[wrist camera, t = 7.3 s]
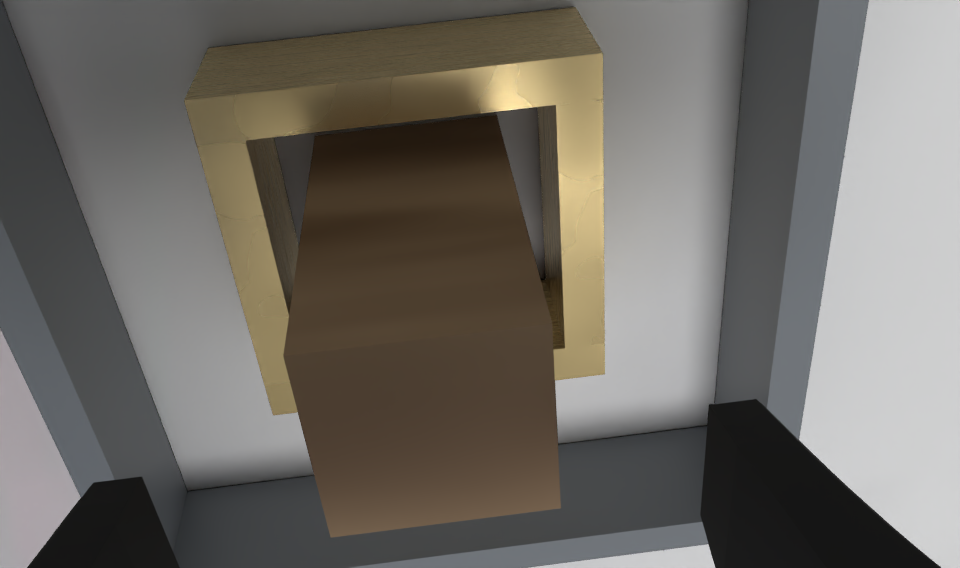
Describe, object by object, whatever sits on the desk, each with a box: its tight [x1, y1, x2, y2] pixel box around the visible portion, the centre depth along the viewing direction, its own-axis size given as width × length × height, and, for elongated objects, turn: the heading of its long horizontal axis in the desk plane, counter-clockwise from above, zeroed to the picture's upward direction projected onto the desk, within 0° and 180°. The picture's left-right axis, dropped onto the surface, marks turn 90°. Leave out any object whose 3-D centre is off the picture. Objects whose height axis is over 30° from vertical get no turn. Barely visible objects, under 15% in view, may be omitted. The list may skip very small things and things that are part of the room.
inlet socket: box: [184, 7, 605, 415], centre depth 18 cm, size 7×7×2 cm
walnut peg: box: [283, 115, 561, 538], centre depth 16 cm, size 4×4×7 cm
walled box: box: [0, 0, 869, 568], centre depth 18 cm, size 15×15×3 cm
